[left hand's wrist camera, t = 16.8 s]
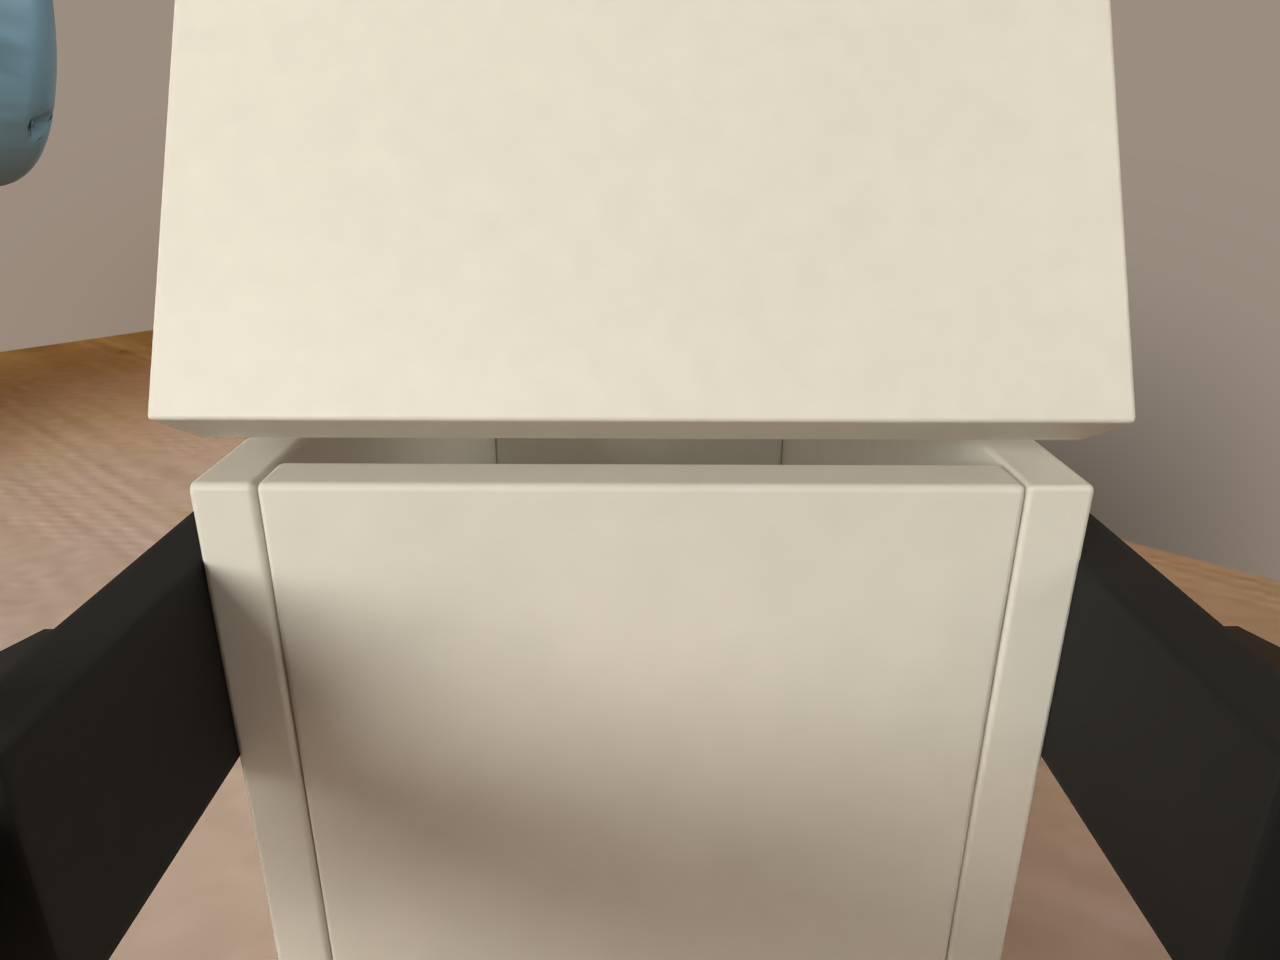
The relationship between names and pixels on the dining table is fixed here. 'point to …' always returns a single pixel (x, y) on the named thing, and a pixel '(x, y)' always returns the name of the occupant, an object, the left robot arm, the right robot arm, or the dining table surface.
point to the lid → (642, 220)
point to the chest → (640, 690)
